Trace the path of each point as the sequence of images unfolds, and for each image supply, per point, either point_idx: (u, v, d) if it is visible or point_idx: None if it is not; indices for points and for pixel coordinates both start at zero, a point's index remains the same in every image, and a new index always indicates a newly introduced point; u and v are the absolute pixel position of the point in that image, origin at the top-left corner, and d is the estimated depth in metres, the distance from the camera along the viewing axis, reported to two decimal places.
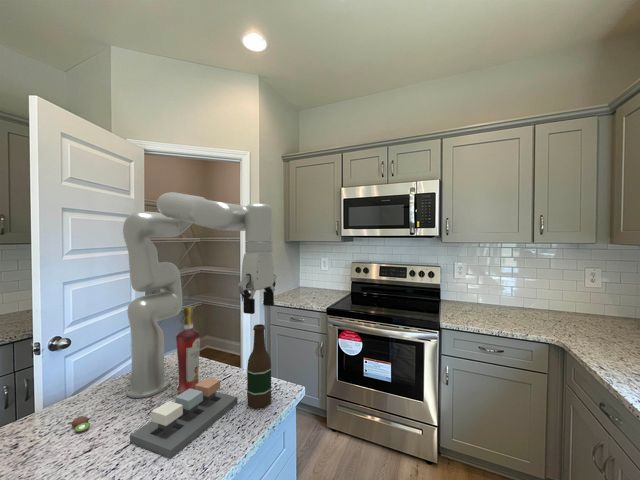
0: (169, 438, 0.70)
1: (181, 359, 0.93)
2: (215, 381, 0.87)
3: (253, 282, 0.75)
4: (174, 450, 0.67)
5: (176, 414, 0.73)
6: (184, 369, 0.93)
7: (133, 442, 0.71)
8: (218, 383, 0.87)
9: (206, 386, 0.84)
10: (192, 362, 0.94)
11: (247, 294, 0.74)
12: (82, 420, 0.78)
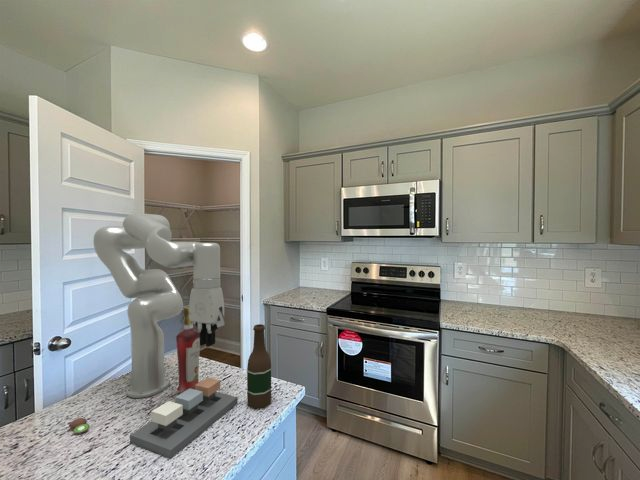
0: (169, 438, 0.70)
1: (181, 359, 0.93)
2: (215, 381, 0.87)
3: None
4: (174, 450, 0.67)
5: (176, 414, 0.73)
6: (184, 369, 0.93)
7: (133, 442, 0.71)
8: (218, 383, 0.87)
9: (206, 386, 0.84)
10: (192, 362, 0.94)
11: None
12: (81, 422, 0.77)
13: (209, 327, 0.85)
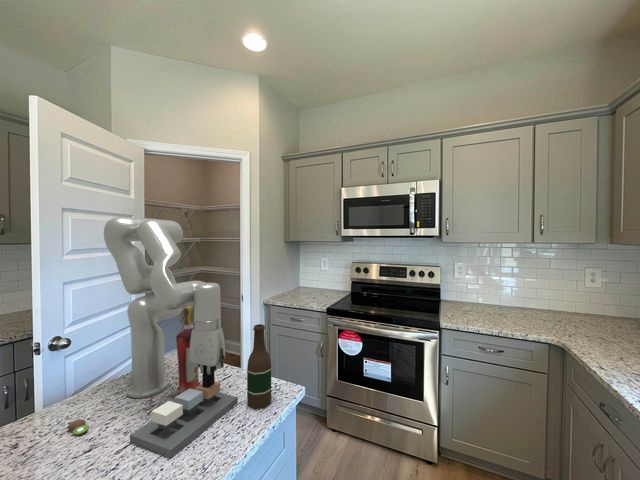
0: (169, 438, 0.70)
1: (181, 359, 0.93)
2: (215, 383, 0.87)
3: (224, 354, 0.86)
4: (174, 450, 0.67)
5: (176, 414, 0.73)
6: (184, 369, 0.93)
7: (133, 442, 0.71)
8: (218, 385, 0.87)
9: (206, 389, 0.84)
10: None
11: None
12: (80, 423, 0.77)
13: (209, 368, 0.85)
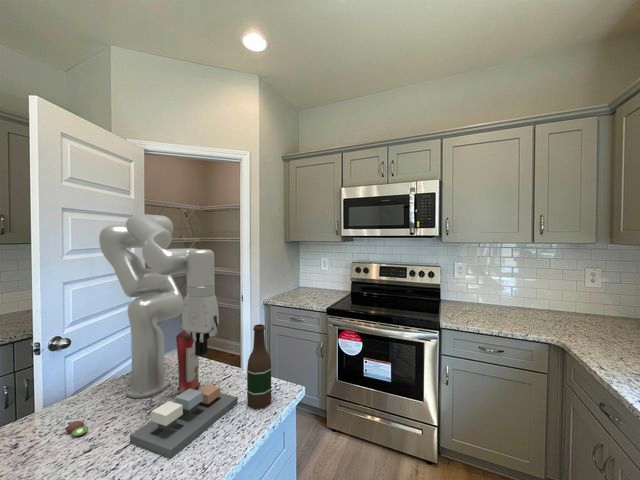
0: (169, 438, 0.70)
1: (181, 359, 0.93)
2: (215, 388, 0.87)
3: (218, 321, 0.84)
4: (174, 450, 0.67)
5: (176, 414, 0.73)
6: (184, 369, 0.93)
7: (133, 442, 0.71)
8: (218, 390, 0.87)
9: (206, 393, 0.84)
10: (192, 362, 0.94)
11: None
12: (78, 425, 0.76)
13: (202, 336, 0.82)
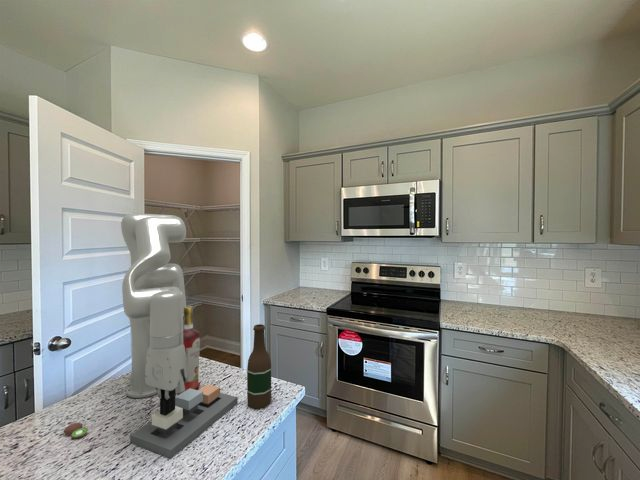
0: (169, 438, 0.70)
1: None
2: (215, 388, 0.87)
3: (186, 375, 0.73)
4: (174, 450, 0.67)
5: (176, 417, 0.73)
6: None
7: (133, 442, 0.71)
8: (218, 390, 0.87)
9: (206, 393, 0.84)
10: (192, 362, 0.94)
11: None
12: (77, 426, 0.75)
13: (167, 393, 0.72)
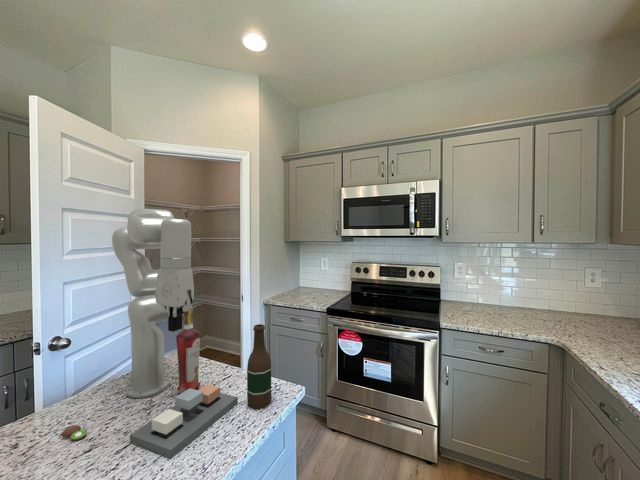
0: (169, 438, 0.70)
1: (181, 359, 0.93)
2: (215, 388, 0.87)
3: (193, 296, 0.79)
4: (174, 450, 0.67)
5: (176, 422, 0.73)
6: (184, 369, 0.93)
7: (133, 442, 0.71)
8: (218, 390, 0.87)
9: (206, 393, 0.84)
10: (192, 362, 0.94)
11: None
12: (76, 428, 0.74)
13: (175, 311, 0.78)
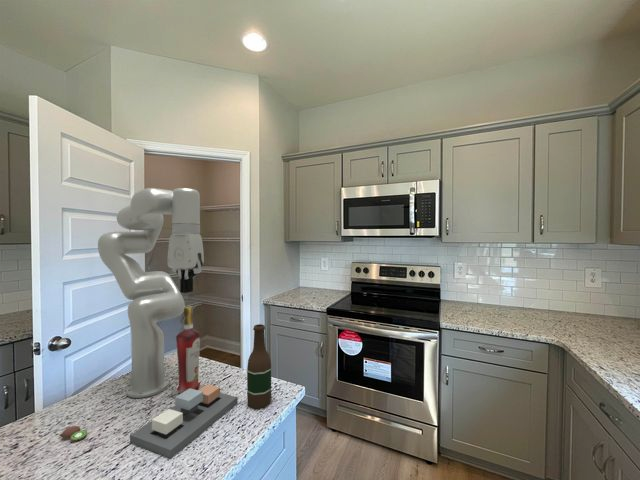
0: (169, 438, 0.70)
1: (181, 359, 0.93)
2: (215, 388, 0.87)
3: (203, 260, 0.85)
4: (174, 450, 0.67)
5: (176, 422, 0.73)
6: (184, 369, 0.93)
7: (133, 442, 0.71)
8: (218, 390, 0.87)
9: (206, 393, 0.84)
10: (192, 362, 0.94)
11: None
12: (75, 429, 0.74)
13: (186, 273, 0.84)
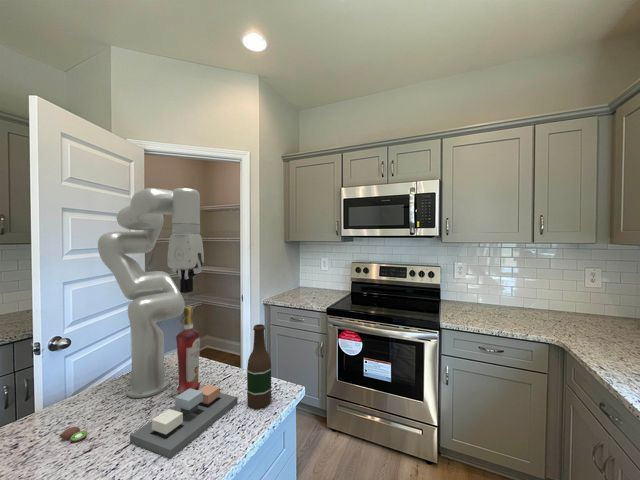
0: (169, 438, 0.70)
1: (181, 359, 0.93)
2: (215, 388, 0.87)
3: (203, 260, 0.85)
4: (174, 450, 0.67)
5: (176, 422, 0.73)
6: (184, 369, 0.93)
7: (133, 442, 0.71)
8: (218, 390, 0.87)
9: (206, 393, 0.84)
10: (192, 362, 0.94)
11: None
12: (75, 430, 0.74)
13: (186, 273, 0.84)
